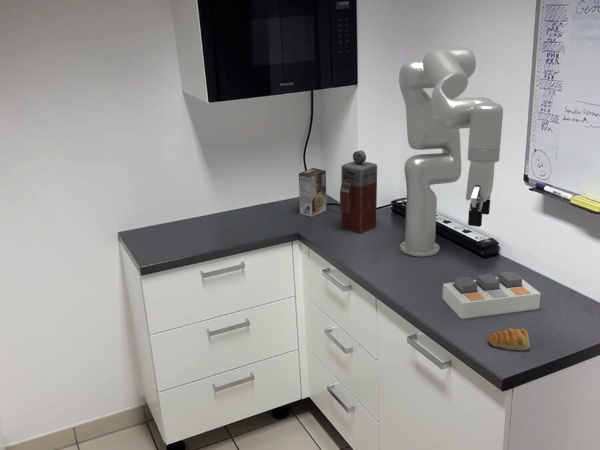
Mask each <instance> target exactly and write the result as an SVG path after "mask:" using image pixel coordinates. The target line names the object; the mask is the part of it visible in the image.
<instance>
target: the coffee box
mask: <svg viewBox="0 0 600 450" xmlns="http://www.w3.org/2000/svg"><path fill="white" fill-rule="evenodd" d="M326 171H327V170H323V169H319V168H316V167H312V168H310V169H307V170H304V171H302V172H299V173H298V190H299V192H298V193H299V198H298V199H299V214H300V215H303V216H307V217H311V218H312V217H315V216H317V215H320V214H322V213H324V212H325V211H327V175H326V174H327V172H326Z"/></svg>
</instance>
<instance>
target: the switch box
mask: <svg viewBox="0 0 600 450" xmlns="http://www.w3.org/2000/svg"><path fill="white" fill-rule="evenodd" d="M494 277H495V278H496V279H497V280H498V276H497V277H496V276H494ZM472 280H473V281H474V282H475V283H476V279H472ZM442 285H443V287H442V300H444V302H445V303H446V304H447V305H448V307H450V309H451V310H453V311H454V313H455V314H456V315H457V316H458V317H459V319H461V320H464V319H466V320H467V319H473V318H481V317H488V316H489V317H490V316H495V315H496V316H497V315H502V314H509V313H510V314H511V313H518V312H526V311H534V310H539V309H540V302H541V296H542V295H541V292H540V291H538V290H537V289H536V288H534V287H533V286H532V285H530V284H529V283H528V282H527V281H526V280H524V279H523V278H522V287H514V288H506V287H504V286H503V285H502V284H501V283H500V287H499V289H498V290H490V291H483V290H482V289H481V288H480V287H479V286H478V285H477V292H474V293H466V294H461V293H460V292H459V291H458V290H457V289H456V288H455V287H454V281H453V282H447V283H443V284H442Z"/></svg>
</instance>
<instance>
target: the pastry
mask: <svg viewBox="0 0 600 450" xmlns="http://www.w3.org/2000/svg"><path fill="white" fill-rule="evenodd" d="M529 338H530V337H529V332H528V330H526V329H524V328H522V329H517V328H506V329H503V330H497V331H495V332H492V333H490V334H489V335H488V338H487V342H488V343H489V344H490V345H491V346H492V347H495V348H500V349H503V350H507V351H509V350H510V351H528V350H529V349H530V348H531V345H530V344H531V343H530V339H529Z"/></svg>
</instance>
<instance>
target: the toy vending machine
mask: <svg viewBox="0 0 600 450" xmlns="http://www.w3.org/2000/svg"><path fill="white" fill-rule="evenodd" d="M352 160H353V161H351V162H348V163H347V162H346V163H344V164H342V165H341V172H340V174H341V177H340V178H341V184H340V188H339V211H340V212H341V219H340V220H341V221H340V222H341V227H340V228H341V229H342V230H346V231H350V232H353V233H356V234H360V235H361V234H364V233H366V232H368V231H371V230H373V229H375V228H377V204H378V203H377V195H378V165H377V164H376V163H374V162H369V161H366V160H367V155H366V152H365V151H363V150H362V149H361V150H360V149H359V150H357V151H354V153H353V154H352Z"/></svg>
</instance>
